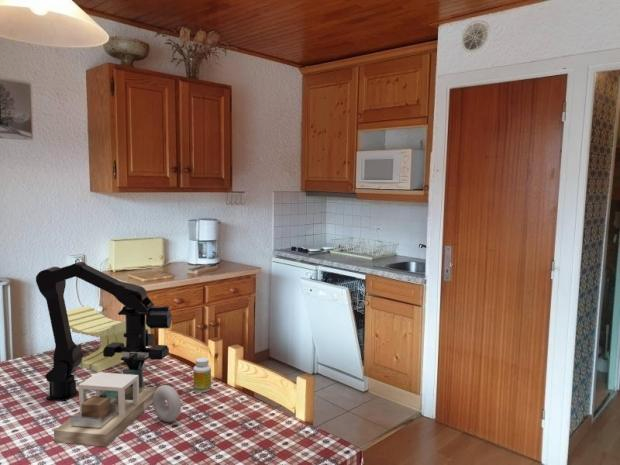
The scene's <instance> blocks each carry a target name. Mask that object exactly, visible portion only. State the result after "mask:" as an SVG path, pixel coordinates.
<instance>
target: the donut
mask: <svg viewBox="0 0 620 465" xmlns="http://www.w3.org/2000/svg"><path fill="white" fill-rule="evenodd" d="M156 388H157V389H156V391H155V392H154V395H153V403H152V406H153V411H154V413H155V414H156V416H157V417H158V418H159V420H160V421H162V422H166V423H172V422H173V421H174V422H175V420H176V419H178V418H179V416H180V413H181V411H182V401H181V397H180V395H179V393H178V391H177V390H176V389H175V388H174V387H173V386H171V385H167V384H164V385H163V384H162V385H160V386H157V387H156ZM166 402H167V403H166Z"/></svg>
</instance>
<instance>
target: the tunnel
mask: <svg viewBox="0 0 620 465" xmlns="http://www.w3.org/2000/svg"><path fill="white" fill-rule="evenodd" d="M132 383H133V404H138V403H139V375H131V374H123V373H115V372H113V373H112V372H102V371H100V372H98V371H96V373H95V374H93V375H92V376H90V377H88V378H87V379H85V380H84V381H82V382H80V383H79V384H78V397H79V398H78V399H79V401H78V403H79V411H80V414H82V409H81V404H82V403H84V402H85V401H86V400H87V391H86V390H95V396H98V397H99V395H100V394H102V393H103V391H106V390H109V391H118V407H119V417H123V416H125V389H126V388H127V387H129V386H130V385H131V384H132Z"/></svg>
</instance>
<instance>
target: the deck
mask: <svg viewBox="0 0 620 465" xmlns="http://www.w3.org/2000/svg"><path fill="white" fill-rule="evenodd" d="M157 388H158V387H152V386H143V387H142V388H140V387H139V403H138V404H133V387H128V388H127V389H126V390H125V416H123V417H119V407H118V396H117V397H116V398H114V399H113V400H112V401H111V402H110V403H114V404H117V414H116V415H115V416H114V417H113V418H112V419H110V420H109V421H108V422H107V423H106V424H105V425H103V426H102V427H101V428H95V427H83V426H71V417H69V419H67V420H66V421H65V422H63V423H61V425H59V426H58V427H56V428H55V429H54V430H53V439H54V441H53V442H54V443H62V444H63V443H65V444H74V445H75V444H76V445H87V446H97V447H105V448H106V447H107V446H109V445H110V444H111V443H112V442H113V441H114V440H115V439H116V438H117V437H118V436H119V435H120V434H121V433H122V432H124V430H125V429H127V428H128V427H129V426H131V424H132V423H133V422H134V421H135V420H136V419H138V417H139V416H140V415H142V414H143V413H144V412H145V410H147V409H148V408H149V407H150V406H151V405H153V395H154V392H155V391H156V389H157ZM79 415H80V410H79V411H78V412H77V413H75V414H74V415H73V416H79Z"/></svg>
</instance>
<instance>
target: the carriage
mask: <svg viewBox="0 0 620 465" xmlns="http://www.w3.org/2000/svg"><path fill="white" fill-rule="evenodd" d="M122 374H131V375H139V387H140V388H142V387H144V369H142V370H141V369H129V368H123V369H122ZM129 387H133V383H132V384H131V385H130V386H129ZM127 388H128V387H127ZM127 388H126V389H127ZM126 389H125V390H126ZM117 396H118V391H109V390H103V391H102V394H100V395H99V397H110V402H111V401H112V400H113V399H114V398H116V397H117ZM116 414H117V404H114V403H110V414H109V415H108V416H106V417H105V418H104V419H103V420H102V418H94V417H82V414H80V415H79V416H74V415H72V416H70V418H71V426H83V427H95V428H101V427H102V426H103V425H105V424H106V423H107V422H108V421H109V420H110V419H112V418H113V417H114V416H115V415H116Z"/></svg>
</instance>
